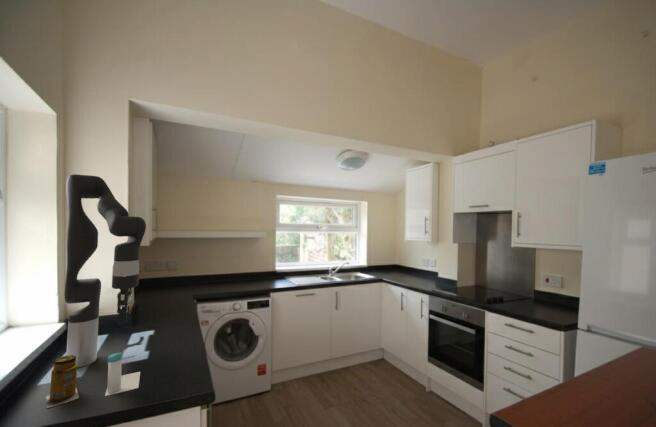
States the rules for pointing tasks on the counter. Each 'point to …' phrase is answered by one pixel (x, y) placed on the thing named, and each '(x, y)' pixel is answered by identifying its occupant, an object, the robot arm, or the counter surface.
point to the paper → (128, 382)
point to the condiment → (63, 381)
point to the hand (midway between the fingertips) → (123, 320)
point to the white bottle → (114, 372)
